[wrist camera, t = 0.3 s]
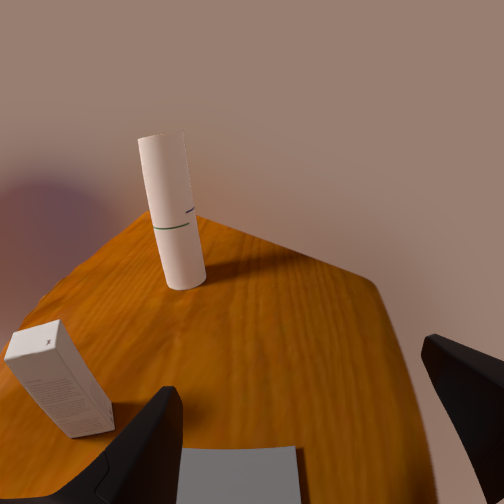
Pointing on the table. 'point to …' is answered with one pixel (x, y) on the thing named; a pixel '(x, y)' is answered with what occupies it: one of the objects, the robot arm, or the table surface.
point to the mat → (239, 476)
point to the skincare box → (59, 380)
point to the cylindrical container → (172, 208)
